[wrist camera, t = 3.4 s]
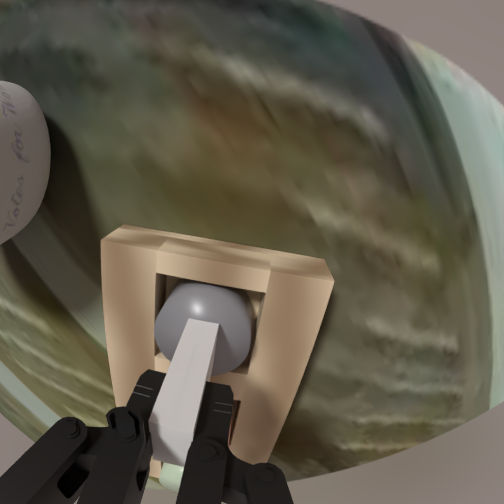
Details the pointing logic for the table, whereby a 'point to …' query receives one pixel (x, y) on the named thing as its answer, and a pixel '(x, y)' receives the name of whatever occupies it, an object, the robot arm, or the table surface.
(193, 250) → the button panel
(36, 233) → the table surface
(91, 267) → the table surface
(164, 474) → the sage button
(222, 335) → the charcoal button
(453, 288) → the table surface
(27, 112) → the teacup
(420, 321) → the table surface
